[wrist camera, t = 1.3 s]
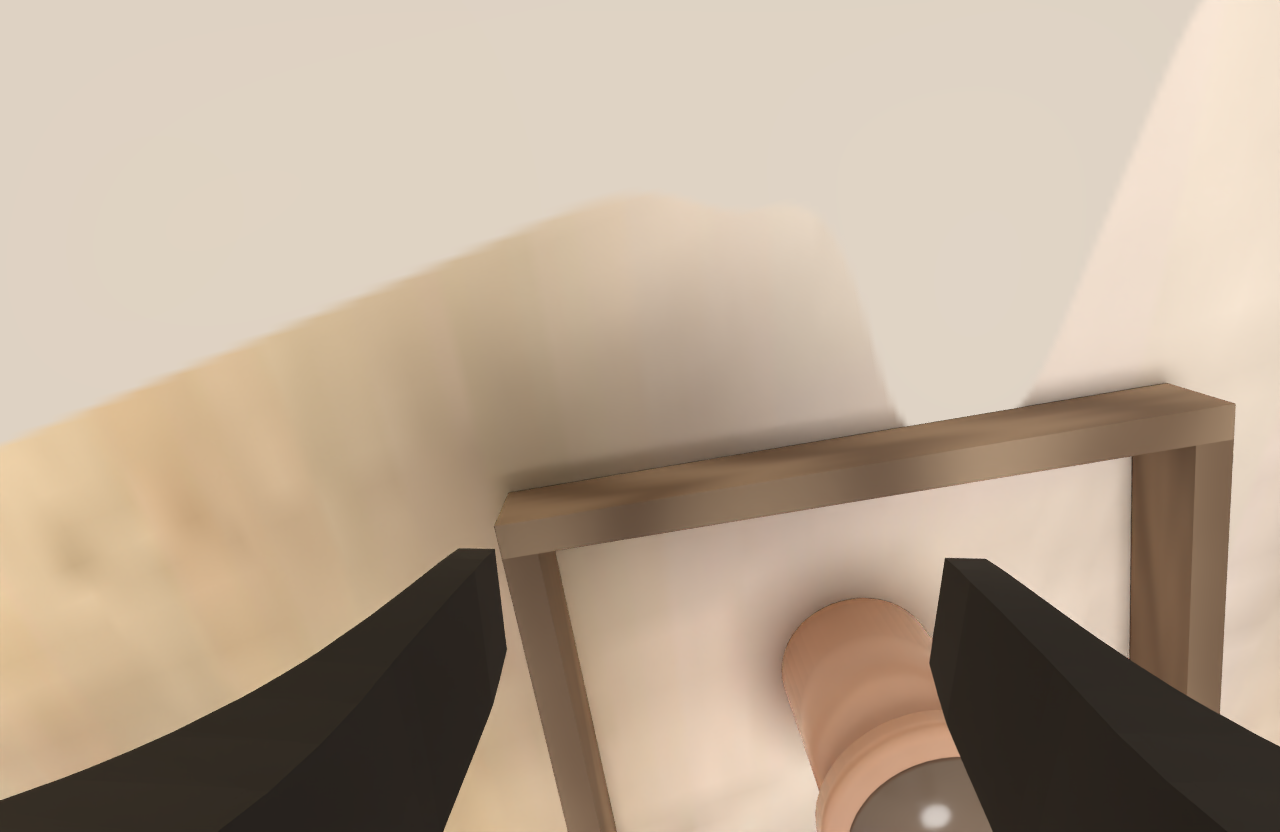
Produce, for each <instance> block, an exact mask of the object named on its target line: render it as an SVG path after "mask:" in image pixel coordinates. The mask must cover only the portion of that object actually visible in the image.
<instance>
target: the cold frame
mask: <svg viewBox="0 0 1280 832" xmlns="http://www.w3.org/2000/svg"><path fill="white" fill-rule="evenodd" d="M1235 406H1236V404H1235V403H1231V402H1228V401H1225V400H1221V399H1218V398H1215V397H1211V396H1208V395H1205V394H1201V393H1198V392H1195V391H1192V390H1188V389H1185V388H1182V387H1178V386H1175V385H1172V384H1168V383H1165V384H1159V385H1153V386H1147V387H1141V388H1135V389H1129V390H1123V391H1117V392H1111V393H1105V394H1099V395H1093V396H1087V397H1081V398H1075V399H1069V400H1063V401H1057V402H1051V403H1045V404H1039V405H1033V406H1027V407H1021V408H1015V409H1009V410H1003V411H997V412H991V413H985V414H979V415H973V416H967V417H961V418H955V419H949V420H944V421H937V422H931V423H925V424H919V425H913V426H907V427H901V428H895V429H889V430H883V431H877V432H871V433H865V434H859V435H853V436H847V437H841V438H835V439H829V440H823V441H817V442H811V443H805V444H799V445H793V446H787V447H781V448H775V449H769V450H763V451H757V452H751V453H745V454H739V455H733V456H727V457H721V458H715V459H709V460H703V461H697V462H691V463H685V464H679V465H673V466H667V467H661V468H655V469H649V470H643V471H637V472H631V473H625V474H619V475H613V476H607V477H601V478H595V479H589V480H583V481H577V482H571V483H565V484H559V485H553V486H547V487H541V488H535V489H529V490H523V491H517V492H511V493H508V496H507V498H506V500H505V502H504V505H503V507H502V509H501V512H500V514H499V516H498V519H497V521H496V523H495V526H494V528H495V532H496V536H497V540H498V544H499V549H500V553H501V557H502V561H503V565H504V569H505V573H506V578H507V582H508V586H509V590H510V594H511V598H512V602H513V606H514V611H515V615H516V619H517V623H518V627H519V631H520V635H521V639H522V644H523V648H524V652H525V656H526V660H527V664H528V668H529V673H530V677H531V681H532V685H533V689H534V693H535V697H536V701H537V706H538V710H539V714H540V718H541V722H542V726H543V730H544V734H545V739H546V743H547V747H548V751H549V755H550V759H551V763H552V768H553V772H554V776H555V780H556V784H557V788H558V792H559V796H560V801H561V805H562V809H563V813H564V817H565V821H566V825H567V829H568V832H617V831H616V827H615V822H614V818H613V813H612V809H611V804H610V800H609V795H608V791H607V786H606V781H605V777H604V772H603V768H602V763H601V759H600V754H599V750H598V745H597V741H596V736H595V731H594V727H593V722H592V718H591V713H590V709H589V704H588V700H587V695H586V691H585V686H584V681H583V677H582V672H581V668H580V663H579V659H578V654H577V650H576V645H575V641H574V636H573V631H572V627H571V622H570V618H569V613H568V609H567V604H566V600H565V595H564V591H563V586H562V582H561V577H560V572H559V568H558V563H557V559H556V554H555V551H557V550H563V549H569V548H575V547H581V546H588V545H594V544H600V543H606V542H612V541H618V540H624V539H630V538H636V537H642V536H648V535H655V534H661V533H667V532H673V531H679V530H685V529H691V528H697V527H703V526H709V525H715V524H722V523H728V522H734V521H740V520H746V519H752V518H758V517H764V516H770V515H776V514H782V513H789V512H795V511H801V510H807V509H813V508H819V507H825V506H831V505H837V504H843V503H849V502H856V501H862V500H868V499H874V498H880V497H886V496H892V495H898V494H904V493H910V492H916V491H923V490H929V489H935V488H941V487H947V486H953V485H959V484H965V483H971V482H977V481H984V480H990V479H996V478H1002V477H1008V476H1014V475H1020V474H1026V473H1032V472H1038V471H1044V470H1051V469H1057V468H1063V467H1069V466H1075V465H1081V464H1087V463H1093V462H1099V461H1105V460H1111V459H1118V458H1124V457H1130V456H1133V468H1132V550H1131V632H1130V660H1131V661H1133V662H1134V663H1136V664H1137V665H1139V666H1140V667H1142V668H1144V669H1145V670H1147V671H1148V672H1150V673H1151V674H1153V675H1155V676H1156V677H1158V678H1159V679H1161V680H1162V681H1164V682H1166V683H1167V684H1169V685H1170V686H1172V687H1174V688H1175V689H1177V690H1178V691H1180V692H1182V693H1184V694H1185V695H1187V696H1189V697H1190V698H1192V699H1194V700H1195V701H1197V702H1199V703H1200V704H1202V705H1204V706H1206V707H1208V708H1209V709H1211V710H1213V711H1215V712H1217V713H1218V714H1220V699H1221V680H1222V660H1223V641H1224V621H1225V601H1226V582H1227V562H1228V543H1229V523H1230V504H1231V484H1232V464H1233V445H1234V425H1235Z"/></svg>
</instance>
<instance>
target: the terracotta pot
mask: <svg viewBox="0 0 1280 832" xmlns="http://www.w3.org/2000/svg"><path fill="white" fill-rule="evenodd" d="M932 641H933V640H932V639H931V638H930V636H929V635H928V633H927V632H926V631H925V629H924V628H923V627H922V625H921V624H920V622H919V621H918V620H917V619H916V618H915V617H914V616H913V615H911V614H910V613H909V612H908V611H906V610H905V609H903V608H901V607H899V606H898V605H895V604H893V603H890V602H887V601H883V600H879V599H872V598H857V599H849V600H844V601H840V602H837V603H834V604H831V605H829V606H827V607H825V608H822V609H821V610H819V611H817V612H816V613H814V614H813V615H811V616H810V617H809V618H808V619H806V620H805V621H804V622H803V623H802V624H801V625H800V626H799V627H798V629H797V630H796V631H795V633H794V634H793V635H792V637H791V639H790V641H789V642H788V644H787V647H786V649H785V652H784V656H783V660H782V679H783V684H784V688H785V691H786V694H787V697H788V700H789V703H790V706H791V708H792V711H793V714H794V717H795V720H796V723H797V726H798V729H799V732H800V735H801V738H802V741H803V744H804V747H805V750H806V753H807V756H808V759H809V762H810V765H811V768H812V771H813V774H814V777H815V780H816V783H817V786H818V788H819V795H818V799H817V804H816V813H815V817H816V829H817V832H993V831H992V829H991V826H990V824H989V822H988V819H987V817H986V815H985V813H984V810H983V808H982V806H981V803H980V801H979V799H978V797H977V794H976V792H975V790H974V787H973V785H972V783H971V781H970V778H969V776H968V774H967V771H966V769H965V767H964V764H963V762H962V760H961V757H960V755H959V753H958V750H957V748H956V746H955V743H954V741H953V739H952V736H951V734H950V731H949V729H948V727H947V724H946V721H945V718H944V714H943V711H942V708H941V704H940V701H939V698H938V694H937V690H936V687H935V683H934V679H933V676H932V672H931V668H930V665H929V661H930V654H931V647H932Z"/></svg>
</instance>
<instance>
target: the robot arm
mask: <svg viewBox="0 0 1280 832" xmlns="http://www.w3.org/2000/svg"><path fill="white" fill-rule="evenodd" d="M506 651H507V647H506V639H505V631H504V622H503V614H502V606H501V597H500V589H499V581H498V573H497V564H496V556H495V549H460V548H459V549H457V550H456V551H455V552H453V553H452V554H450V555H449V556H447V557H446V558H445V559H443V560H442V561H441V562H440V563H438V564H437V565H436V566H434V567H433V568H432V569H431V570H429V571H428V572H427V573H425V574H424V575H423V576H422V577H420V578H419V579H418V580H416V581H415V582H414V583H413V584H411V585H410V586H409V587H408V588H406V589H405V590H404V591H402V592H401V593H400V594H398V595H397V596H396V597H394V598H393V599H392V600H391V601H389V602H388V603H387V604H385V605H384V606H383V607H381V608H380V609H379V610H377V611H376V612H375V613H373V614H372V615H371V616H369V617H368V618H367V619H365V620H364V621H362V622H361V623H359V624H358V625H357V626H355V627H354V628H352V629H351V630H349V631H348V632H346V633H345V634H344V635H342V636H341V637H339V638H338V639H336V640H335V641H334V642H332V643H331V644H329V645H328V646H326V647H325V648H324V649H322V650H321V651H319V652H318V653H316V654H315V655H313V656H311V657H310V658H308V659H307V660H305V661H304V662H302V663H300V664H299V665H297V666H296V667H294V668H292V669H291V670H289V671H287V672H286V673H284V674H282V675H281V676H279V677H277V678H275V679H274V680H272V681H270V682H268V683H267V684H265V685H263V686H262V687H260V688H258V689H256V690H255V691H253V692H251V693H249V694H247V695H246V696H244V697H242V698H240V699H238V700H236V701H234V702H232V703H230V704H228V705H226V706H224V707H222V708H220V709H218V710H216V711H214V712H212V713H210V714H208V715H206V716H204V717H202V718H200V719H198V720H196V721H194V722H192V723H190V724H188V725H186V726H184V727H182V728H180V729H178V730H176V731H174V732H172V733H170V734H168V735H165V736H163V737H161V738H159V739H156V740H154V741H152V742H150V743H147V744H145V745H143V746H141V747H138V748H136V749H134V750H132V751H129V752H127V753H124V754H122V755H120V756H117V757H115V758H112V759H110V760H107V761H105V762H103V763H100V764H98V765H95V766H93V767H90V768H88V769H85V770H83V771H80V772H78V773H75V774H73V775H70V776H67V777H65V778H62V779H60V780H57V781H54V782H51V783H48V784H45V785H43V786H40V787H37V788H34V789H31V790H29V791H26V792H23V793H20V794H17V795H14V796H12V797H9V798H6V799H3V800H0V832H443V830H444V828H445V825H446V823H447V820H448V818H449V815H450V813H451V810H452V808H453V805H454V803H455V800H456V798H457V795H458V793H459V790H460V788H461V785H462V783H463V780H464V778H465V775H466V773H467V770H468V768H469V765H470V763H471V760H472V758H473V755H474V753H475V750H476V748H477V745H478V743H479V740H480V737H481V735H482V732H483V730H484V727H485V725H486V722H487V720H488V717H489V714H490V712H491V709H492V706H493V703H494V699H495V695H496V691H497V688H498V684H499V680H500V676H501V672H502V668H503V664H504V659H505V655H506ZM929 665H930V668H931V672H932V676H933V679H934V683H935V687H936V690H937V694H938V698H939V701H940V704H941V708H942V711H943V714H944V718H945V721H946V724H947V727H948V729H949V731H950V734H951V736H952V739H953V741H954V743H955V746H956V748H957V750H958V753H959V755H960V757H961V760H962V762H963V764H964V767H965V769H966V771H967V774H968V776H969V778H970V781H971V783H972V785H973V787H974V790H975V792H976V794H977V797H978V799H979V801H980V803H981V806H982V808H983V810H984V813H985V815H986V817H987V819H988V822H989V824H990V826H991V829H992V831H993V832H1280V747H1279V746H1277V745H1275V744H1274V743H1272V742H1270V741H1268V740H1266V739H1264V738H1262V737H1260V736H1258V735H1256V734H1254V733H1253V732H1251V731H1249V730H1247V729H1245V728H1244V727H1242V726H1240V725H1238V724H1236V723H1235V722H1233V721H1231V720H1229V719H1227V718H1226V717H1224V716H1222V715H1220V714H1218V713H1217V712H1215V711H1213V710H1211V709H1209V708H1208V707H1206V706H1204V705H1202V704H1200V703H1199V702H1197V701H1195V700H1194V699H1192V698H1190V697H1189V696H1187V695H1185V694H1184V693H1182V692H1180V691H1178V690H1177V689H1175V688H1174V687H1172V686H1170V685H1169V684H1167V683H1166V682H1164V681H1162V680H1161V679H1159V678H1158V677H1156V676H1155V675H1153V674H1151V673H1150V672H1148V671H1147V670H1145V669H1144V668H1142V667H1140V666H1139V665H1137V664H1136V663H1134V662H1133V661H1131V660H1129V659H1128V658H1126V657H1125V656H1123V655H1122V654H1120V653H1119V652H1117V651H1116V650H1114V649H1113V648H1112V647H1110V646H1109V645H1107V644H1106V643H1104V642H1103V641H1101V640H1100V639H1098V638H1097V637H1095V636H1094V635H1093V634H1091V633H1090V632H1088V631H1087V630H1085V629H1084V628H1083V627H1081V626H1080V625H1078V624H1077V623H1075V622H1074V621H1073V620H1071V619H1070V618H1068V617H1067V616H1066V615H1064V614H1063V613H1062V612H1060V611H1059V610H1057V609H1056V608H1055V607H1053V606H1052V605H1050V604H1049V603H1048V602H1046V601H1045V600H1044V599H1042V598H1041V597H1039V596H1038V595H1037V594H1035V593H1034V592H1033V591H1031V590H1030V589H1028V588H1027V587H1026V586H1024V585H1023V584H1022V583H1020V582H1019V581H1017V580H1016V579H1015V578H1013V577H1012V576H1010V575H1009V574H1008V573H1006V572H1005V571H1003V570H1002V569H1000V568H999V567H997V566H996V565H994V564H993V563H991V562H990V561H988V560H987V559H966V558H945V561H944V568H943V575H942V581H941V588H940V595H939V601H938V608H937V614H936V621H935V628H934V634H933V641H932V647H931V654H930V661H929Z"/></svg>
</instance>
